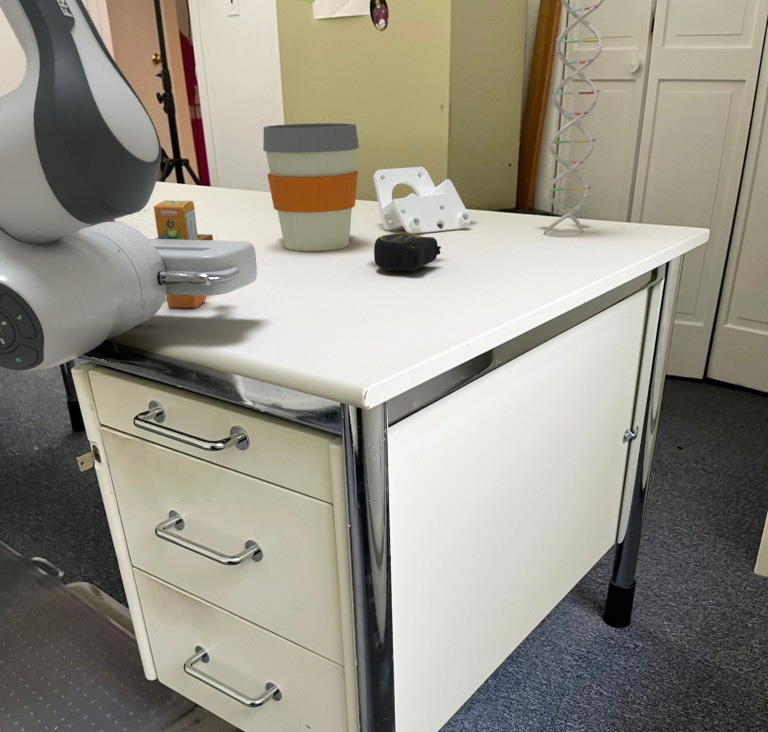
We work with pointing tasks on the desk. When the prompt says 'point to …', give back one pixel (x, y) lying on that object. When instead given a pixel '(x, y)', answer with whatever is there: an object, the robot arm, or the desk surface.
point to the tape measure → (405, 251)
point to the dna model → (575, 121)
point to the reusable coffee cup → (313, 182)
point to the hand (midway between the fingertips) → (183, 248)
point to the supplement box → (179, 225)
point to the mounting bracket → (419, 202)
